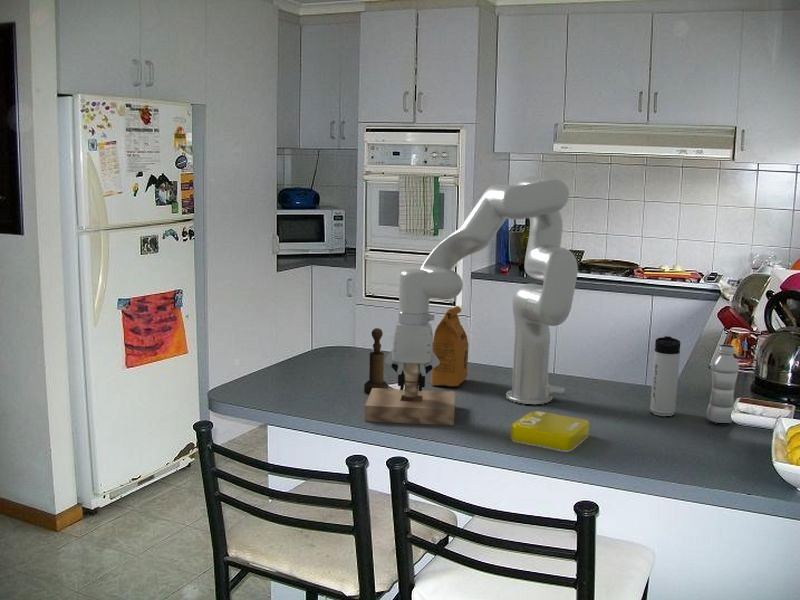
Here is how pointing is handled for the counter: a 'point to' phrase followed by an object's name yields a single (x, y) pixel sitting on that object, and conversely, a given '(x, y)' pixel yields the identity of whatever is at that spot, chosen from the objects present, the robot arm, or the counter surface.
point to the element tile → (550, 430)
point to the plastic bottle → (723, 385)
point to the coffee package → (450, 351)
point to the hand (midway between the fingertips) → (411, 388)
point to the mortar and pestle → (376, 364)
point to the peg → (411, 379)
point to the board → (410, 407)
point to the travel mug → (665, 375)
